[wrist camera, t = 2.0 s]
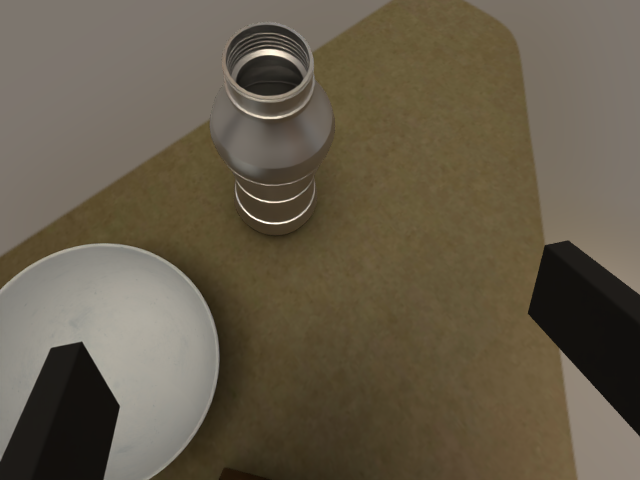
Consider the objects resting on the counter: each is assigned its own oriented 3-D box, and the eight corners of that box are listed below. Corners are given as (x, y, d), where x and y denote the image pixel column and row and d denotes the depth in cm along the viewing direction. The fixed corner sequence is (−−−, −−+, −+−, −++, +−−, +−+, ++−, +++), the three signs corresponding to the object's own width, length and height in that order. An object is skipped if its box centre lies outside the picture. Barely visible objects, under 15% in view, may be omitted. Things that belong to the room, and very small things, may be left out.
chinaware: (163, 226, 35) (129, 198, 28) (271, 371, 33) (267, 383, 26) (-3, 341, 32) (-91, 344, 25) (106, 506, 30) (48, 564, 23)
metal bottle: (234, 172, 37) (178, -7, 17) (311, 167, 37) (340, -11, 18) (239, 244, 35) (184, 138, 16) (319, 237, 36) (359, 128, 16)
